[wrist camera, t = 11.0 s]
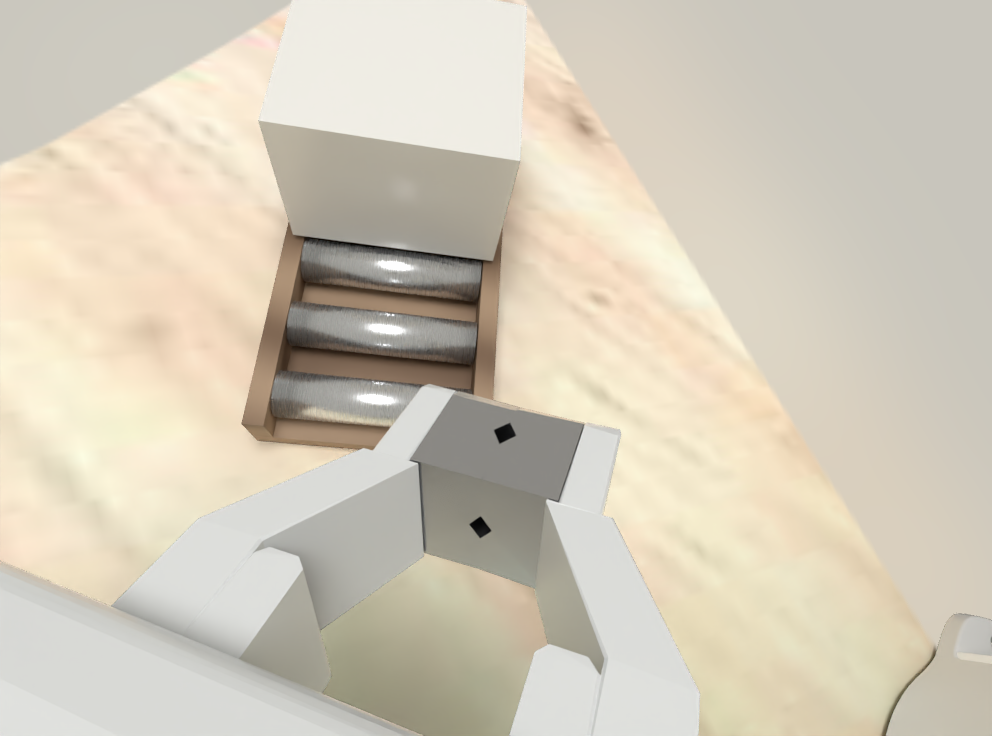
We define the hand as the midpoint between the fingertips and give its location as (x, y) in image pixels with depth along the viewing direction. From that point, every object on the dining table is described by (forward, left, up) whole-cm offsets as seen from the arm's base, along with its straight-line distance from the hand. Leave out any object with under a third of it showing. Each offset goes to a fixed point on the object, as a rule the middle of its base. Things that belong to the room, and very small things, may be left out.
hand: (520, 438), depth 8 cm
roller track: (+4, -16, -22) cm, 28 cm away
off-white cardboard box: (+4, -20, -19) cm, 28 cm away
